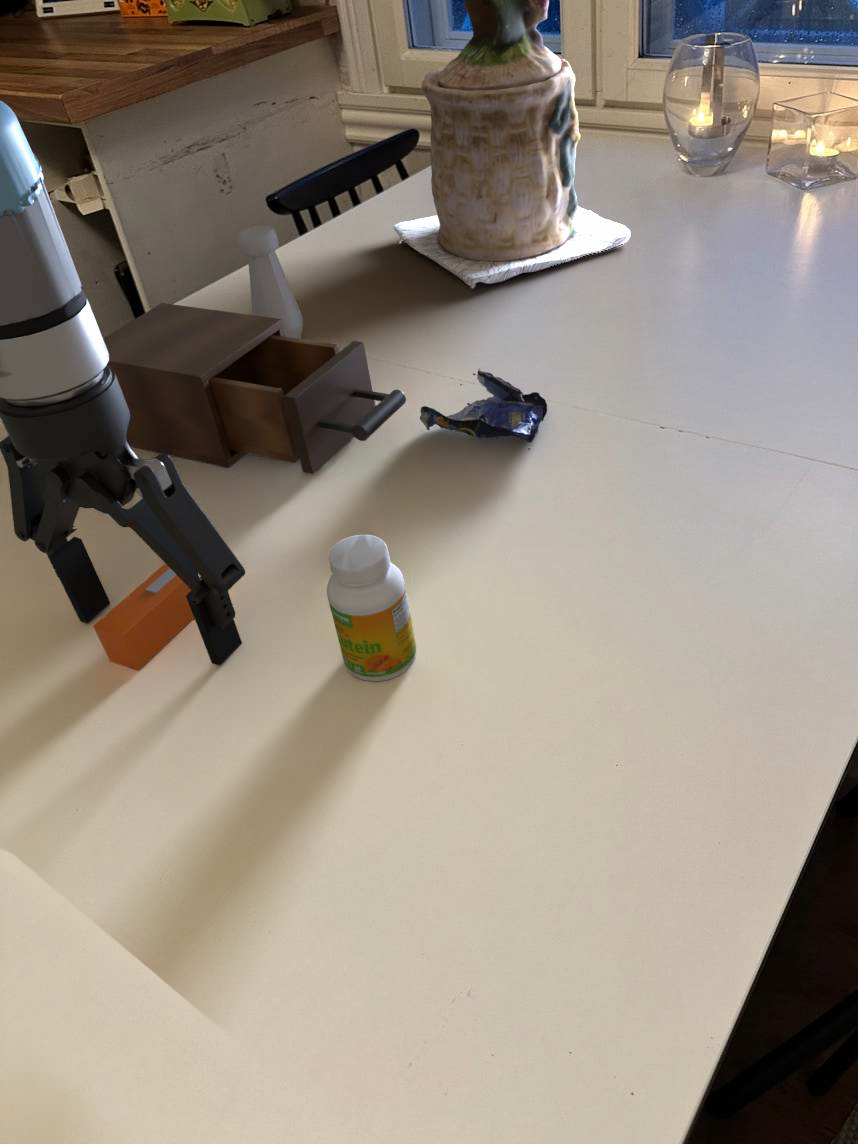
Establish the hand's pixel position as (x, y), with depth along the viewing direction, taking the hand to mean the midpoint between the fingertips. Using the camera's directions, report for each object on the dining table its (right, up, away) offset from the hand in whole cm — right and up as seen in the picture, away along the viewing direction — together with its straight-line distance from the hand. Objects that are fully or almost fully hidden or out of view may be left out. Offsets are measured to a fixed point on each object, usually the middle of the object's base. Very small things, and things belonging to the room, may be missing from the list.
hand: (159, 632), depth 74 cm
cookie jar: (+29, +53, +56) cm, 83 cm away
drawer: (+8, +19, +19) cm, 28 cm away
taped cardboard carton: (0, 0, 0) cm, 0 cm away
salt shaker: (+2, +35, +39) cm, 52 cm away
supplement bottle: (+18, -2, -4) cm, 18 cm away
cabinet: (-3, +22, +25) cm, 33 cm away
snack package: (+26, +20, +19) cm, 38 cm away
